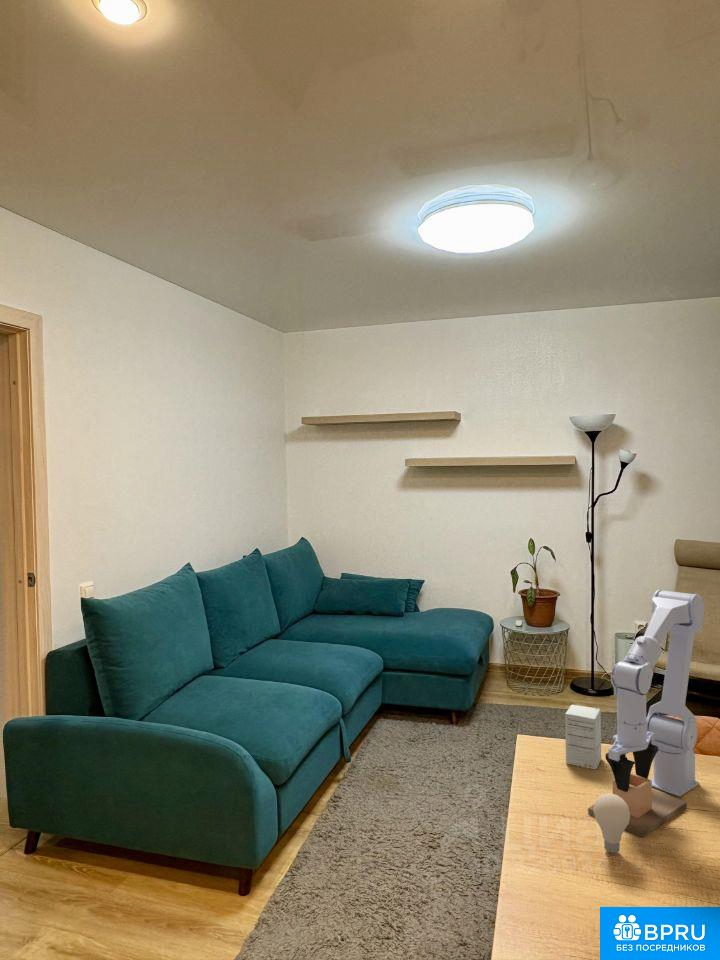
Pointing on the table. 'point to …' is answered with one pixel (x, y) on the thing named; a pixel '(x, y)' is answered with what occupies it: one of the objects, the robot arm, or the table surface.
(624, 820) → the light bulb
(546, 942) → the table surface
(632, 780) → the duct sleeve
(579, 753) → the supplement box
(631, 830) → the duct board
